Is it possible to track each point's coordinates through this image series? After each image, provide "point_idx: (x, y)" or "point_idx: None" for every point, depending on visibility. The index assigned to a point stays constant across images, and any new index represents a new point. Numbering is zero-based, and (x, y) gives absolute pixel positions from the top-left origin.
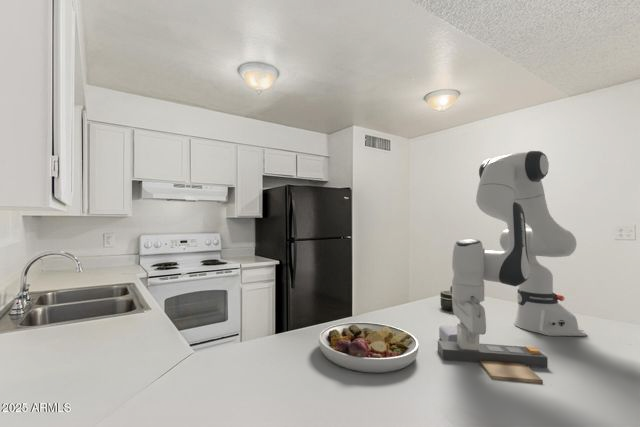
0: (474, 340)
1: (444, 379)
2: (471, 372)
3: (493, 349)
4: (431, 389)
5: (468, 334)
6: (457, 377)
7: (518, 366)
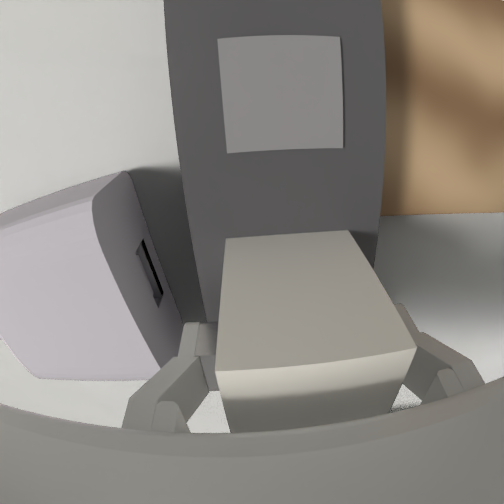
0: (408, 320)
1: (470, 348)
2: (449, 270)
3: (314, 111)
4: (495, 366)
5: (415, 387)
6: (470, 318)
7: (410, 11)
